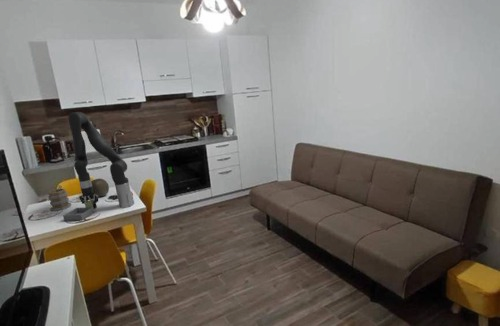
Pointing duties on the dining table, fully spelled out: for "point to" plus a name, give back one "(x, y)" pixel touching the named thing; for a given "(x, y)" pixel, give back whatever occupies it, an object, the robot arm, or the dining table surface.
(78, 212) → the bin
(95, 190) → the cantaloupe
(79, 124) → the robot arm
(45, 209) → the dining table surface
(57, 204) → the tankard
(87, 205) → the olive block
